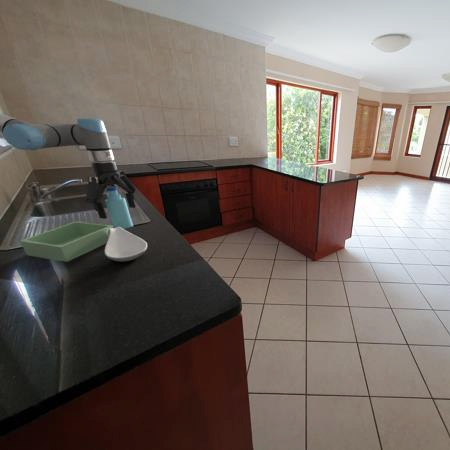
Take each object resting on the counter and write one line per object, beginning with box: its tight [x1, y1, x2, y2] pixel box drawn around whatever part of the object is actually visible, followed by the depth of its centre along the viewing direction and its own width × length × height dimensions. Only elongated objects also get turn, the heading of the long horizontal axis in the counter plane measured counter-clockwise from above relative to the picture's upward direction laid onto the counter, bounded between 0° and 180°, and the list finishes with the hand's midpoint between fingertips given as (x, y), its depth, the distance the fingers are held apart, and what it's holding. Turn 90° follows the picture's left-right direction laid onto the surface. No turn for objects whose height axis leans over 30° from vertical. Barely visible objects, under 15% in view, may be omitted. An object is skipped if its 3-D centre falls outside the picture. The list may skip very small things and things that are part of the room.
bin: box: [19, 220, 114, 263], centre depth 86 cm, size 18×18×6 cm
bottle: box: [104, 185, 134, 230], centre depth 100 cm, size 7×7×18 cm
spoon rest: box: [104, 227, 148, 262], centre depth 83 cm, size 24×12×7 cm, turn 49°
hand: (118, 212), depth 101 cm, fingers open, 13 cm apart
